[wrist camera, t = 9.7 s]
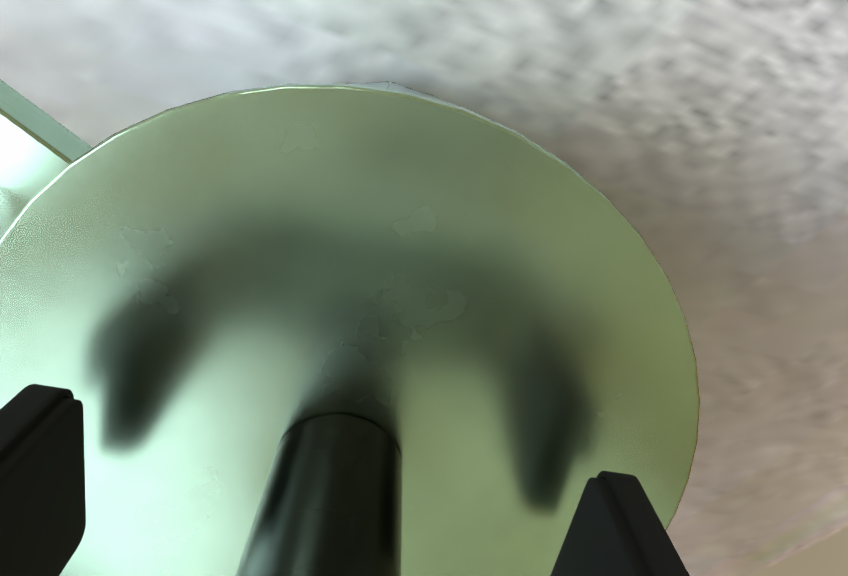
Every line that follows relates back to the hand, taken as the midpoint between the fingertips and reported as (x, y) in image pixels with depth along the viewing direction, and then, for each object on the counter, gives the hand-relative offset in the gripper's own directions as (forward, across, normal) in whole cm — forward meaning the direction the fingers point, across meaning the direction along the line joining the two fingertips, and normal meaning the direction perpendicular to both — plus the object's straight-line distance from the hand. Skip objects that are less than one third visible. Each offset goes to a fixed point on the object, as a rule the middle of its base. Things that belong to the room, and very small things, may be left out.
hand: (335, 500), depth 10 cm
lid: (+2, 0, 0) cm, 2 cm away
